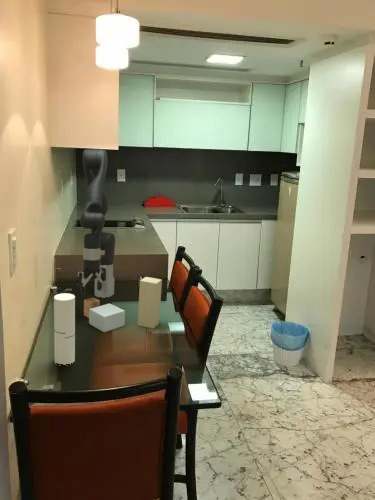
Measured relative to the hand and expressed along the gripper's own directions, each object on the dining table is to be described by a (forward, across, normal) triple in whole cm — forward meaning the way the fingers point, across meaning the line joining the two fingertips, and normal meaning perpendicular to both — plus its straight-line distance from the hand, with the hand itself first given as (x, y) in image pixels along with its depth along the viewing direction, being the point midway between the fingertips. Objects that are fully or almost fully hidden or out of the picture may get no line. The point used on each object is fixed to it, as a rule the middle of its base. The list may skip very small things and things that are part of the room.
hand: (91, 292), depth 200 cm
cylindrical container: (+13, +30, +28) cm, 43 cm away
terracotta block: (+12, 0, 0) cm, 12 cm away
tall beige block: (+12, -16, +22) cm, 30 cm away
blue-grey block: (+12, -1, +12) cm, 17 cm away
